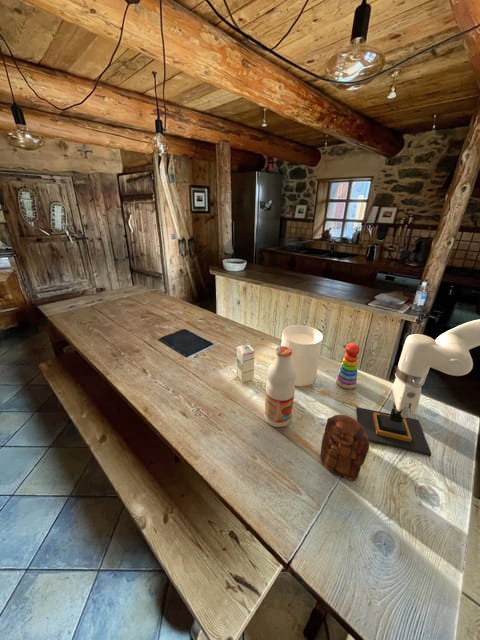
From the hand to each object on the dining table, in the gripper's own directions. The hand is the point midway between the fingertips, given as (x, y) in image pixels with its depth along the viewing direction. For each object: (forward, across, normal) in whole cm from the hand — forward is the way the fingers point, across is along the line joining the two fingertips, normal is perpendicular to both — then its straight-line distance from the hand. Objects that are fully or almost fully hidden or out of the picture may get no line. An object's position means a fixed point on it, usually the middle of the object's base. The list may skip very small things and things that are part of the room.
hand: (395, 420), depth 87 cm
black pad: (+4, 0, +1) cm, 4 cm away
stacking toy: (+5, +21, +14) cm, 26 cm away
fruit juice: (+4, -6, +38) cm, 38 cm away
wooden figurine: (+5, -19, +18) cm, 26 cm away
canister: (+4, +21, +34) cm, 40 cm away
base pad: (+5, 0, +1) cm, 5 cm away
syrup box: (+4, +12, +55) cm, 56 cm away
